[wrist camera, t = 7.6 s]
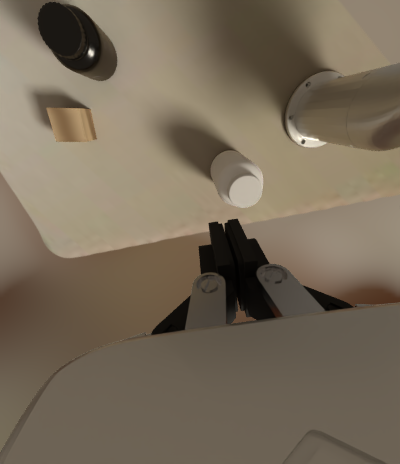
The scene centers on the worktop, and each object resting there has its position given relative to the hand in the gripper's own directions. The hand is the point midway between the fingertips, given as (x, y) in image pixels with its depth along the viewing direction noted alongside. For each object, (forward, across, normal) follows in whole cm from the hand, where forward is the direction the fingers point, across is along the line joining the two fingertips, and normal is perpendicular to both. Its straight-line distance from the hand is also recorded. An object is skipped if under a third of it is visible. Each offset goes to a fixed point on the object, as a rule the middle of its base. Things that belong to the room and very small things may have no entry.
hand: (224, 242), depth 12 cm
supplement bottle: (+35, +14, -17) cm, 42 cm away
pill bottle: (+35, -6, +4) cm, 36 cm away
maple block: (+35, +21, -8) cm, 41 cm away
